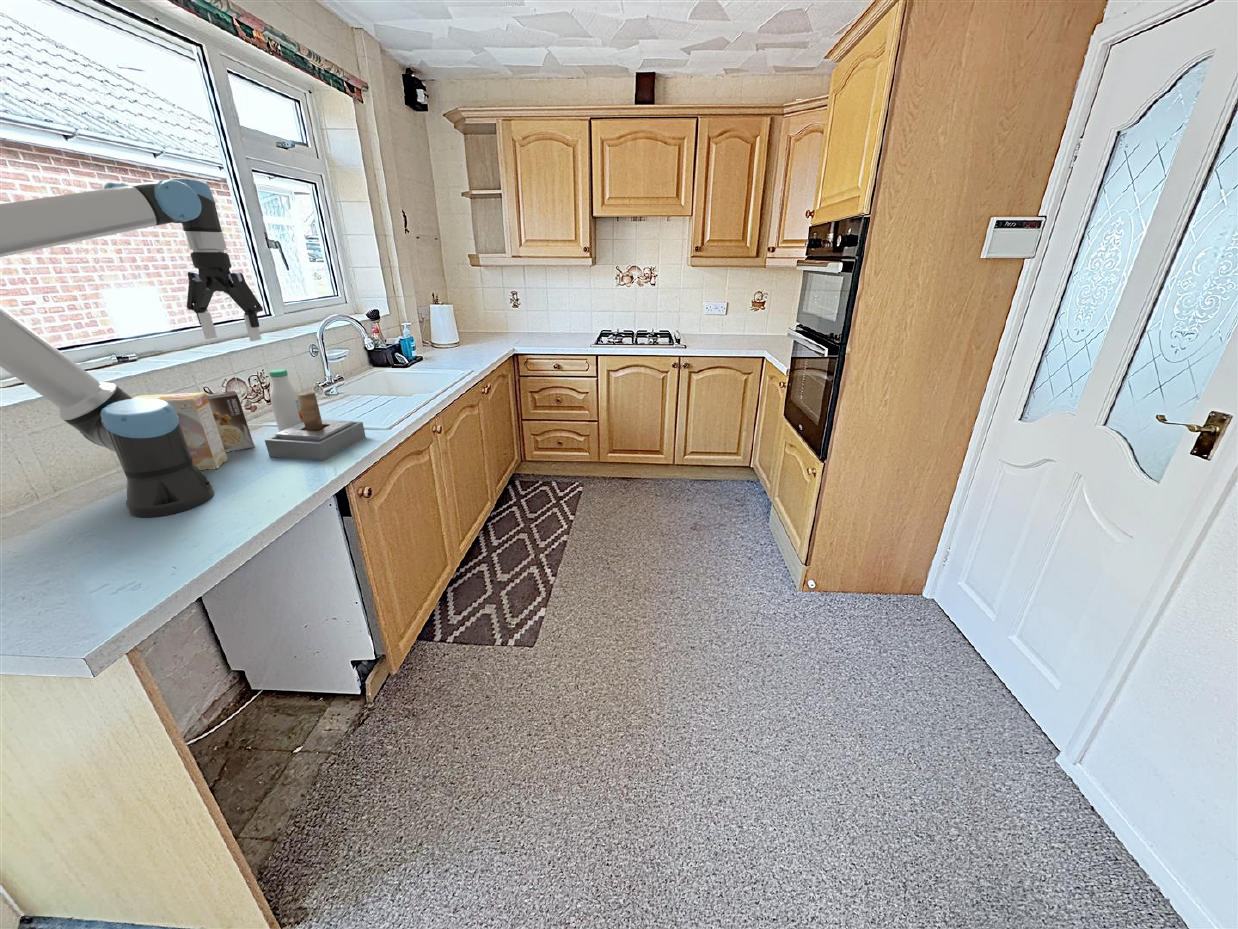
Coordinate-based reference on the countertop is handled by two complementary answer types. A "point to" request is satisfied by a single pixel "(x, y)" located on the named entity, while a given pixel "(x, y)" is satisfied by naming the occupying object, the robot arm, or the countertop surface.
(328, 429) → the bore block
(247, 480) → the countertop surface
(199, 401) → the coffeecake box
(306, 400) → the peg
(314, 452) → the grey socket base
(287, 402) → the milk bottle
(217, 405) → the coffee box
